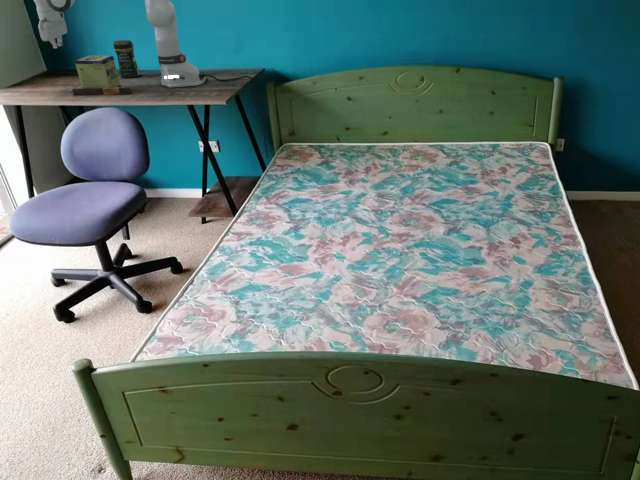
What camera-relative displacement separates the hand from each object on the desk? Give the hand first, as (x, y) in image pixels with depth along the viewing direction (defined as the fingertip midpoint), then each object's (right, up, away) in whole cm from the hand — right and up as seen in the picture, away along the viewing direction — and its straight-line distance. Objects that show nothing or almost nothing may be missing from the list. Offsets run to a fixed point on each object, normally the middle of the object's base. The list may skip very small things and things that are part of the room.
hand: (58, 47), depth 290 cm
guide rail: (+19, -21, +5) cm, 29 cm away
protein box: (+16, -17, +12) cm, 26 cm away
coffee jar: (+22, -3, +33) cm, 40 cm away
